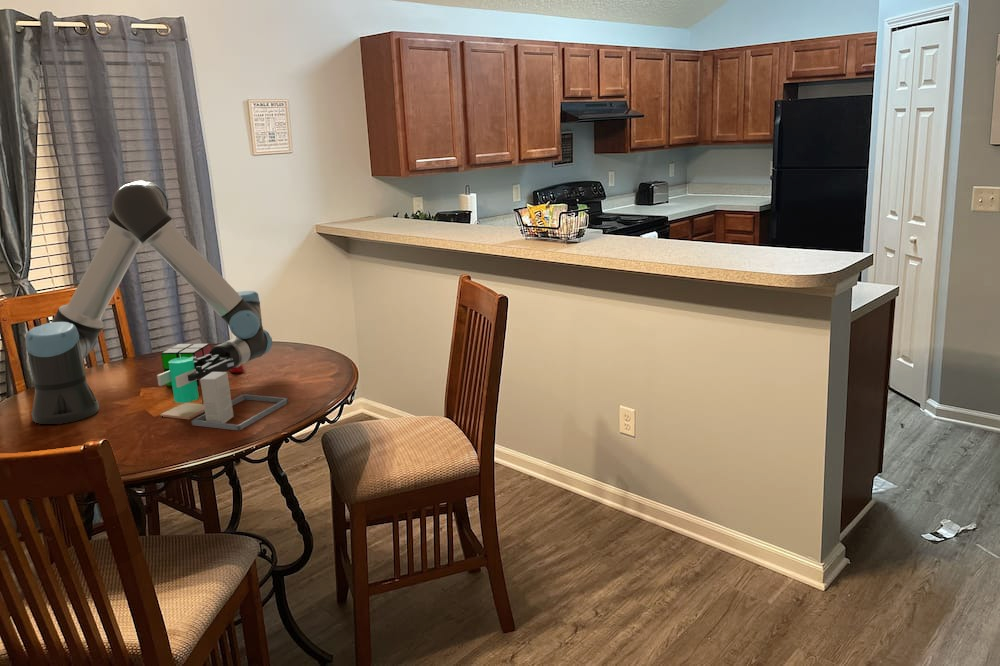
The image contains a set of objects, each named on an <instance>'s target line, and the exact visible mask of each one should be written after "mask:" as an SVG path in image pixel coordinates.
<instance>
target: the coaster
mask: <svg viewBox="0 0 1000 666" xmlns="http://www.w3.org/2000/svg"><path fill="white" fill-rule="evenodd" d="M203 413H205V409H204V403H195V402H187V403H180V404H178V405H176V406H175V407H173V408H171V409H168V410H166V411H164V412H162V413H160V417H162V416H163V417H164V418H173V419H182V420H191V419H194V418H195V417H198V416H199V415H202V414H203Z"/></svg>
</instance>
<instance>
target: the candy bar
mask: <svg viewBox="0 0 1000 666" xmlns="http://www.w3.org/2000/svg"><path fill="white" fill-rule="evenodd" d="M229 371H230V373H237V374H240V373H239V372H241V373H243V364H241V365H239V367H235V368H233V369H231V370H229Z"/></svg>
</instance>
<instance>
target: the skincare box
mask: <svg viewBox="0 0 1000 666" xmlns="http://www.w3.org/2000/svg"><path fill="white" fill-rule="evenodd" d="M200 382H201V385H200V388H201V396H202V403H203V404H204V409H205V412H204V414H205V416H206V419H205V421H209V422H218V423H227V422H228V421H230V420H231V419H232V418H234V409H233V406H232V402H231V400H232V395H231V388H230V382H229V375H228V371H226V372H211V373H210V374H208V375H206V376H205V377H203V378H201V379H200Z"/></svg>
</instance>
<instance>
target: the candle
mask: <svg viewBox="0 0 1000 666" xmlns="http://www.w3.org/2000/svg"><path fill="white" fill-rule="evenodd" d="M168 363H169V369H170V375H171V382H172V386H171V387H172V393H173V401H174V402H175V403H177V404H183V403H193V402H194V401H197V400H198V399H199V398H200V395H199V390H198V386H197V381H196V380H195V381H193V382H190V383H188V384H186V385H184V386H181V387H177V385H176V378H175V377H176V376H178V375H181V374H183V373H185V372H189V371H192V370H193V369H195V368H194V361H193V358H187V357H181V356H180V358H175V359H172V360H170V361H169V362H168Z"/></svg>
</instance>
